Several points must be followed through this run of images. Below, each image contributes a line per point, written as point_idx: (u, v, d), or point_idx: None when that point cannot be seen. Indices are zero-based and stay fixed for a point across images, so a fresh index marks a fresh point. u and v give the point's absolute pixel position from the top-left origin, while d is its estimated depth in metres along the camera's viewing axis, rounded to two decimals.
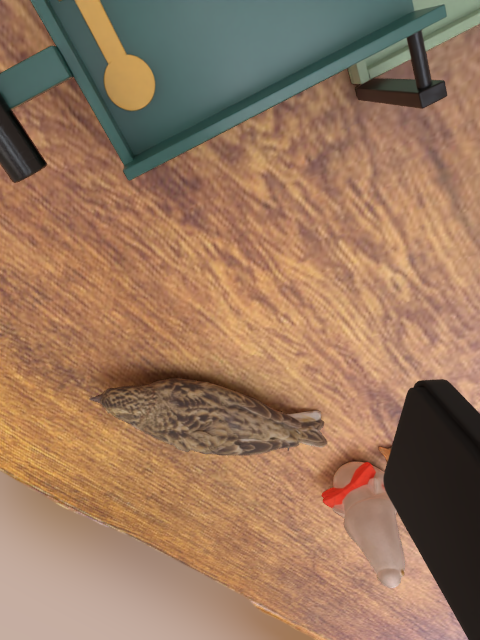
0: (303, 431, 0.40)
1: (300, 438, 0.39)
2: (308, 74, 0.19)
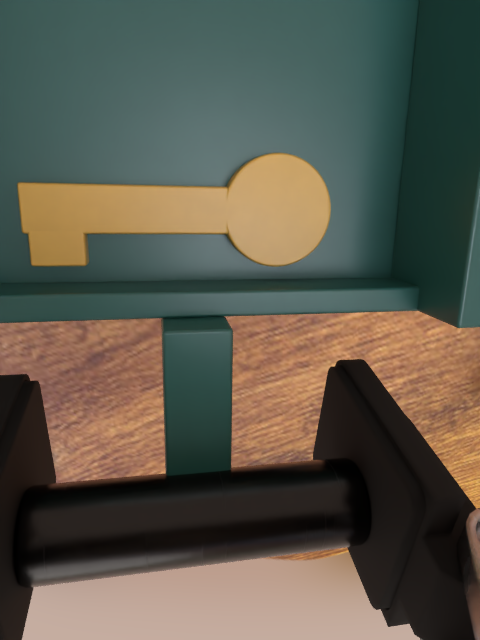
0: None
1: None
2: None
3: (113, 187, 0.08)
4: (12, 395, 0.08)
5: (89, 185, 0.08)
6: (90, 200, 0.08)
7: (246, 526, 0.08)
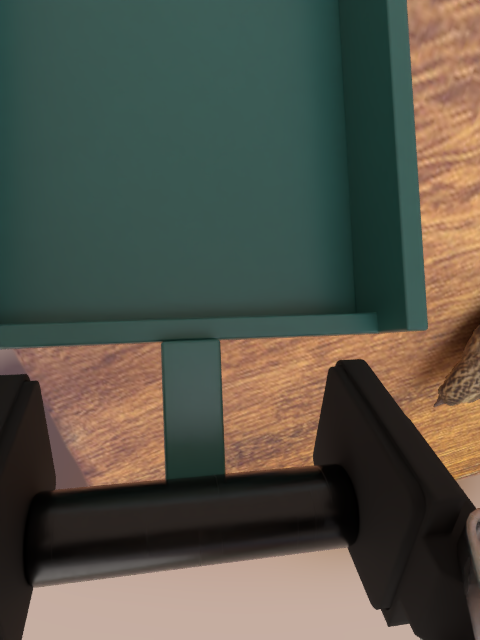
0: None
1: None
2: None
3: None
4: (12, 395, 0.08)
5: None
6: None
7: (240, 514, 0.08)
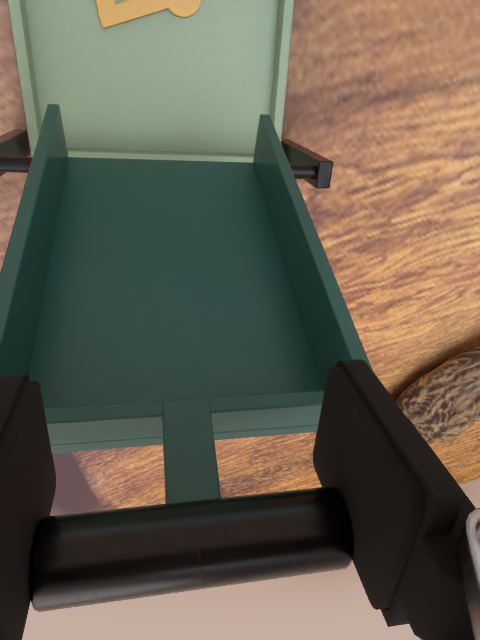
0: None
1: None
2: (287, 189, 0.18)
3: (131, 19, 0.26)
4: (12, 395, 0.08)
5: (124, 22, 0.26)
6: None
7: (234, 512, 0.09)
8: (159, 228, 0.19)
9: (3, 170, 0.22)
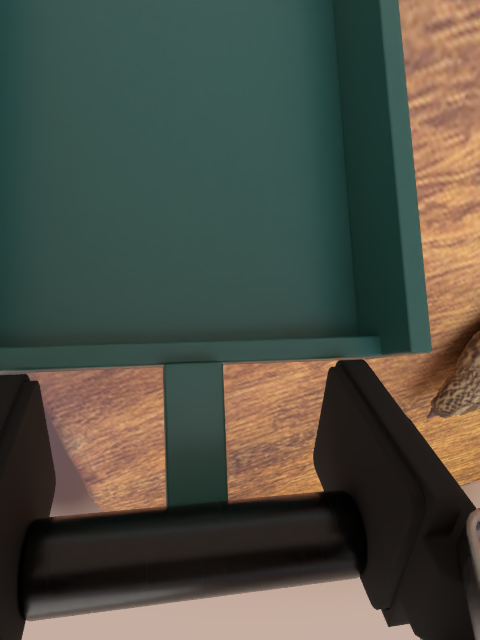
0: None
1: None
2: None
3: None
4: (12, 395, 0.08)
5: None
6: None
7: (244, 543, 0.08)
8: (161, 10, 0.12)
9: None
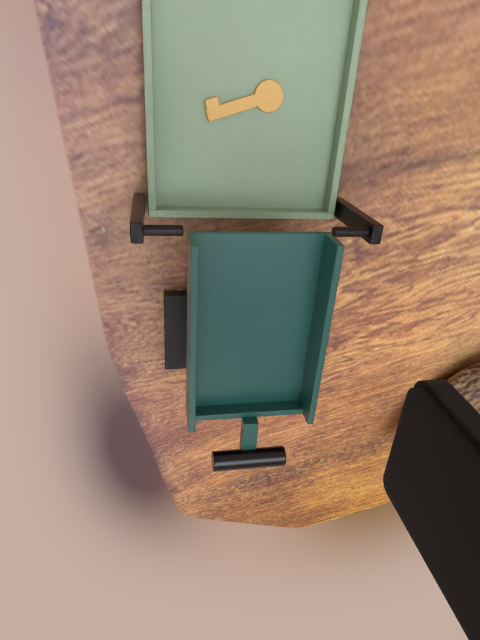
0: None
1: None
2: (323, 327, 0.33)
3: (229, 114, 0.34)
4: None
5: None
6: None
7: (259, 461, 0.37)
8: (250, 306, 0.34)
9: (149, 234, 0.30)
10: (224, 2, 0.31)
